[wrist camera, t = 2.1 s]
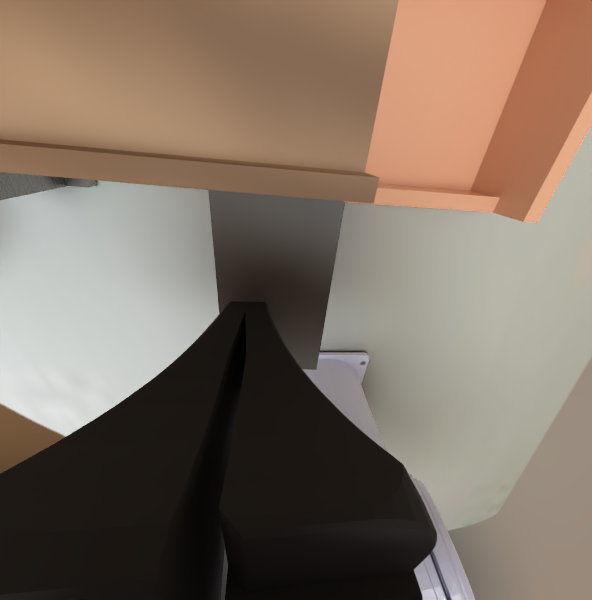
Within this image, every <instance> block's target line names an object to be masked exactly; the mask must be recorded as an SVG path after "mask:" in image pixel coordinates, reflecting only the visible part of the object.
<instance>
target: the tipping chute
mask: <svg viewBox="0 0 592 600" xmlns="http://www.w3.org/2000/svg"><path fill="white" fill-rule="evenodd" d="M398 1H399V0H0V172H7V173H18V174H30V175H42V176H54V177H65V178H77V179H89V180H101V181H112V182H124V183H136V184H148V185H159V186H171V187H183V188H195V189H206V190H209V199H210V211H211V222H212V233H213V245H214V256H215V268H216V279H217V290H218V302H219V313H221V312H222V310H223V309H224V308H225V306H226V305H227V304H228V303H229V302H230V301H237V302H265V303H266V304H267V305H268V309H269V312H270V315H271V318H272V320H273V322H274V325H275V327H276V329H277V330H278V332H279V334H280V336H281V338H282V340H283V341H284V343H285V345H286V346H287V348H288V349H289V351H290V353H291V354H292V356H293V357H294V358H295V360H296V361H297V363H298V364H299V365H300V367H301V368H302V369H309V370H316V369H317V363H318V357H319V351H320V345H321V340H322V334H323V328H324V322H325V316H326V310H327V304H328V298H329V292H330V286H331V280H332V275H333V269H334V263H335V257H336V251H337V245H338V239H339V233H340V227H341V221H342V215H343V210H344V204H345V201H348V202H359V203H371V204H374V200H375V195H376V191H377V186H378V182H379V177H376V176H373V175H371V174H368V173H365V169H366V164H367V159H368V154H369V149H370V144H371V139H372V134H373V129H374V124H375V118H376V113H377V108H378V103H379V98H380V93H381V88H382V83H383V78H384V73H385V68H386V62H387V57H388V52H389V47H390V42H391V37H392V32H393V27H394V22H395V17H396V12H397V7H398Z"/></svg>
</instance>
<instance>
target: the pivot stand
mask: <svg viewBox="0 0 592 600" xmlns="http://www.w3.org/2000/svg"><path fill="white" fill-rule="evenodd" d="M96 185H97V182H96V180H89V179H77V178H65V177H54V176H42V175H30V174H18V173H7V172H0V200H3V199H8V198H13V197H18V196H22V195H27V194H32V193H37V192H41V191H46V190H51V189H56V188H60V187H65V186H80V187H92V186H96Z"/></svg>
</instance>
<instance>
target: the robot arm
mask: <svg viewBox="0 0 592 600" xmlns="http://www.w3.org/2000/svg"><path fill="white" fill-rule="evenodd" d="M362 361H363V362H362ZM368 362H369V355H368V354H367V353H365V352H324V353H319V357H318V363H317V369H316V370H309V369H302V368H301V367H300V365H299V364H298V363H297V361H296V360H295V358H294V357H293V356H292V354H291V353H290V351H289V349H288V348H287V346H286V345H285V343H284V341H283V340H282V338H281V336H280V334H279V332H278V330H277V329H276V327H275V325H274V322H273V320H272V318H271V315H270V312H269V309H268V305H267V304H266V303H265V302H237V301H230V302H229V303H228V304H227V305H226V306H225V308H224V309H223V310H222V312H221V313H220V314H219V315H218V317H217V318H216V319H215V320H214V321H213V323H212V324H211V325H210V326H209V327H208V328H207V329H206V330H205V332H204V333H203V334H202V335H201V336H200V337H199V338H198V339H197V340H196V341H195V342H194V343H193V344H192V345H191V346H190V347H189V348H188V349H187V350H186V351H185V352H184V353H183V354H182V355H181V356H180V357H178V358H177V359H176V360H175V361H174V362H173V363H172V364H171V365H169V366H168V367H167V368H166V369H165V370H163V371H162V372H161V373H160V374H159V375H157V376H156V377H155V378H154V379H152V380H151V381H150V382H148V383H147V384H146V385H144V386H143V387H141V388H140V389H139V390H137V391H136V392H134V393H133V394H132V395H130V396H129V397H127V398H126V399H125V400H123V401H122V402H121V403H119V404H118V405H116V406H115V407H113V408H112V409H110V410H108V411H107V412H105V413H104V414H102V415H101V416H99V417H98V418H96V419H95V420H93V421H91V422H90V423H88V424H86V425H85V426H83V427H82V428H80V429H78V430H77V431H75V432H73V433H72V434H70V435H68V436H67V437H65V438H63V439H62V440H60V441H58V442H57V443H55V444H53V445H51V446H50V447H48V448H46V449H44V450H43V451H41V452H39V453H37V454H35V455H33V456H32V457H30V458H28V459H27V460H24V461H23V462H21V463H19V464H17V465H15V466H14V467H12V468H10V469H8V470H7V471H5V472H3V473H1V474H0V600H221V586H222V573H223V561H224V549H226V555H227V560H228V573H227V584H226V595H225V600H475V598H474V595H473V592H472V590H471V587H470V584H469V582H468V579H467V576H466V574H465V571H464V569H463V567H462V564H461V562H460V559H459V557H458V554H457V552H456V550H455V547H454V545H453V543H452V540H451V538H450V536H449V534H448V531H447V529H446V527H445V525H444V523H443V521H442V518H441V516H440V514H439V512H438V510H437V508H436V506H435V504H434V502H433V500H432V498H431V496H430V494H429V493H428V491H427V489H426V487H425V486H424V484H423V483H422V482H420V481H419V480H417V479H416V478H413V476H412V475H411V474H409V473H408V472H407V471H406V469H405V467H404V465H403V464H402V463H400V462H399V461H398V460H397V459H395V458H394V457H393V456H392V455H391V454H389V453H388V452H387V451H386V449H385V446H384V444H383V441H382V439H381V436H380V433H379V431H378V428H377V426H376V423H375V420H374V418H373V415H372V413H371V410H370V407H369V405H368V402H367V399H366V397H365V394H364V392H363V389H362V386H361V384H362V381H363V378H364V375H365V371H366V368H367V365H368Z"/></svg>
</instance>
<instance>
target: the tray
mask: <svg viewBox="0 0 592 600" xmlns="http://www.w3.org/2000/svg"><path fill="white" fill-rule="evenodd" d="M591 126H592V0H399V1H398V7H397V12H396V17H395V22H394V27H393V32H392V37H391V42H390V47H389V52H388V57H387V62H386V68H385V73H384V78H383V83H382V88H381V93H380V98H379V103H378V108H377V113H376V118H375V124H374V129H373V134H372V139H371V144H370V149H369V154H368V159H367V164H366V169H365V173H368V174H371V175H373V176H376V177H379V182H378V186H377V191H376V195H375V200H374V204H378V205H392V206H407V207H421V208H435V209H450V210H464V211H479V212H493V213H496V214H500V215H503V216H506V217H509V218H513V219H516V220H519V221H522V222H535V223H537V222H538V221H539V219H540V217H541V215H542V213H543V212H544V210H545V208H546V206H547V204H548V203H549V201H550V199H551V197H552V195H553V194H554V192H555V190H556V188H557V187H558V185H559V183H560V181H561V179H562V178H563V176H564V174H565V172H566V170H567V169H568V167H569V165H570V163H571V161H572V160H573V158H574V156H575V154H576V152H577V151H578V149H579V147H580V145H581V143H582V142H583V140H584V138H585V136H586V135H587V133H588V131H589V129H590V127H591ZM345 202H348V201H345ZM349 203H359V202H349ZM363 204H371V203H363Z"/></svg>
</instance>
